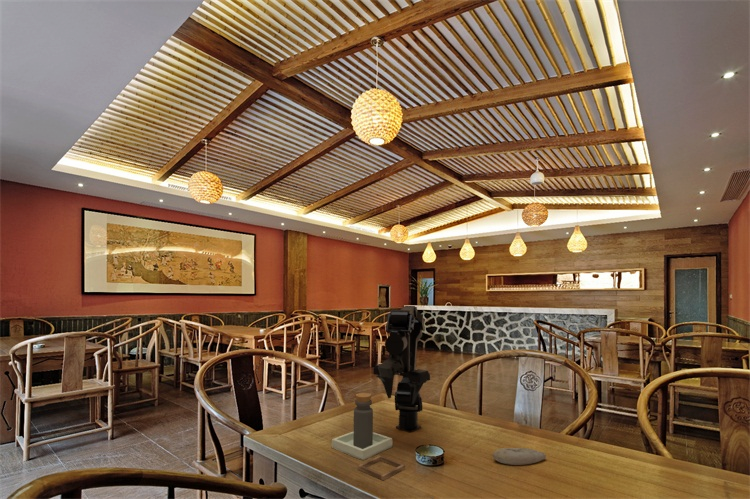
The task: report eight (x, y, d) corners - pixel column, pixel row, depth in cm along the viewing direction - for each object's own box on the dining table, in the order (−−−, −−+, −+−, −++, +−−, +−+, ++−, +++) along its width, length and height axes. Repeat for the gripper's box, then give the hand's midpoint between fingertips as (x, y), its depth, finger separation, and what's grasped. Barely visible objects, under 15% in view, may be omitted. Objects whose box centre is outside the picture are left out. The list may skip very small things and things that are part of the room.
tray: (361, 436, 132) (361, 428, 132) (392, 446, 123) (392, 438, 123) (331, 447, 122) (331, 439, 123) (362, 460, 114) (362, 451, 114)
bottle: (365, 450, 119) (366, 398, 120) (349, 446, 122) (350, 395, 123) (376, 444, 124) (376, 393, 125) (360, 440, 127) (360, 391, 128)
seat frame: (380, 459, 115) (380, 455, 115) (405, 468, 109) (405, 464, 109) (357, 469, 108) (357, 465, 108) (383, 480, 102) (383, 476, 102)
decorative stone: (551, 465, 112) (550, 452, 112) (498, 468, 109) (497, 455, 110) (538, 456, 118) (538, 443, 118) (488, 459, 115) (488, 446, 116)
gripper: (361, 349, 128) (361, 400, 127) (408, 356, 116) (408, 413, 114) (384, 345, 137) (384, 393, 135) (430, 352, 124) (431, 404, 123)
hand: (400, 400), depth 127 cm, fingers open, 9 cm apart
